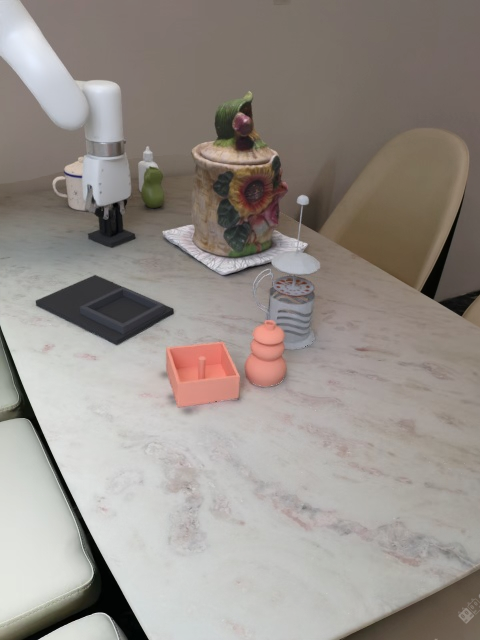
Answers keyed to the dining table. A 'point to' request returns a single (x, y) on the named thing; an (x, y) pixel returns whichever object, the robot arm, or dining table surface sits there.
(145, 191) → the pear
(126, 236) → the stud pad
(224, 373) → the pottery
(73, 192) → the teacup with lid
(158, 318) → the base pad
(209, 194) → the cookie jar
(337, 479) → the dining table surface
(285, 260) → the french press
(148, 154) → the eye dropper bottle
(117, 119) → the robot arm
